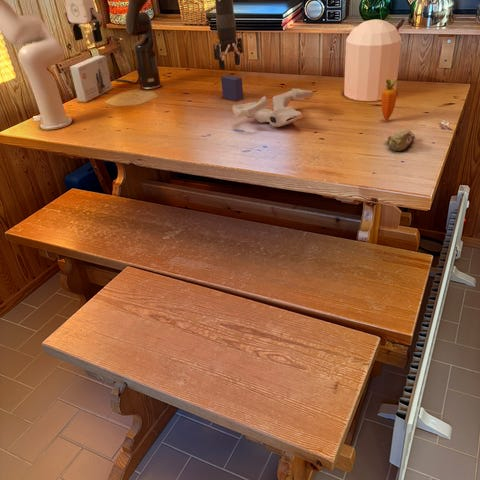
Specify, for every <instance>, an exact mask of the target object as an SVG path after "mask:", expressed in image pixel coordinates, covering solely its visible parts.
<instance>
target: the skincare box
mask: <svg viewBox="0 0 480 480" xmlns="http://www.w3.org/2000/svg"><path fill="white" fill-rule="evenodd" d="M69 70H70V74H71V78H72V82H73V86H74V90H75V94H76V98H77V102H81V103H82V102H84V103H87V102H89V101H91V100H93V99H95V98H97V97H100V96H101V95H103V94H105V93H107V92H108V91H110V90H112V89H113V86H112V81H111V78H110V76H111V75H110V72H109V71H110V70H109V66H108V62H107V57H106V55H100V54H99V55H95V56H92V57H90V58H87V59H85V60H83V61H80V62H78V63H75V64H73V65H71V66H69Z"/></svg>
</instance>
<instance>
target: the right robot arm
mask: <svg viewBox="0 0 480 480" xmlns="http://www.w3.org/2000/svg"><path fill="white" fill-rule="evenodd" d="M148 1H149V0H128V4H127V9H126V13H125V20H124V21H125V29H126V32H127V34H128V35H129V36H131V37H137V36H141V38H140V40H138V41H137V42H135V44H134V45H133V50H134V54H135V59H136V64H137V67H136V71H137V72H136V73H137V80H136V81H131V80H127V79H118V78H115V77H114V76H112V75H109V76H110V79H112V80H113V81H118V82H125V83H130V84H132V85H136V84H139V87H140V89H142V90H145V91H151V90H152V91H153V90H157V89H159V88H161V87H162V83H161V78H160V73H159V72H160V71H159V67H158V66H159V65H158V62H157V61H158V60H157V55H156V50H155V40H154V32H153V24H152V20H151V16H150V15H149V13H148V12H147V11H142V9H143V8H144V7H145V5H146V4H147V3H148ZM214 6H215V17H216V18H215V20H216V21H215V22H216V32H217V39H218V41H219V43H213V59H214V60H216V61H218V67H219V69H220V70H221V71H224V70H226V67H225V57H226V56H228V55H227V54H229V53H233V57H234V59H233V60H234V65H235V66H239V65H240V64H241V54H243V53H244V47H243V38H242V37H237V26H236V17H235V11H234V9H235V8H234V0H214Z"/></svg>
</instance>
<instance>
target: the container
mask: <svg viewBox="0 0 480 480" xmlns="http://www.w3.org/2000/svg"><path fill="white" fill-rule="evenodd" d="M401 50H402V37H401V35H400V32H399V31H398V29H397V27H396V26H394V25H393V24H392V23H390V22H388V21H386V20H383V19H378V18H377V19H376V18H375V19H369V20H364V21H363V22H361V23H359V24H358V25H356V26H355V27H354V28H352V30H351V31H350V33H349V34H348V36H347V37H346V39H345V55H344V59H345V60H344V81H343V83H344V85H343V94H344V96H345V97H346V98H347V99H351V100H354V101H363V102H377V101H381V98H382V91H383V90H384V89H386V88H387V87H386V85H387V83H386V79H390V82H391V84H393V82H394V80H395V79H397V81H396V83H395V84H394V86H393V88H394V89H395V90H396V91H397V87H398V86H397V85H398V83H397V82H398V76H399V67H400V59H401V58H400V57H401ZM389 86H390V85H389ZM391 86H392V85H391Z"/></svg>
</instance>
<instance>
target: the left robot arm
mask: <svg viewBox="0 0 480 480" xmlns="http://www.w3.org/2000/svg"><path fill="white" fill-rule="evenodd" d="M64 5H65V11H66V12H65V13H64V17H65V18H66V20H67V23H68V24H69V25H70V29H72V33H73V37H74V41H76V42H78V41H81V40H83V39H84V35H83V31H82V27H81V26H80V25H88V24H89V26H90V27H91V28H92V31H91V33H92V36H93V41H94V43H100V42H103V36H102V30H101V29H102V25H103V15H102V14H101V13H100V12H98V11H97V9H96V5H95V1H94V0H64ZM0 32H1V34H2V35H3V37H5V38H6V40H7V41H8V42H9V43H10V44H12V45H13V46H22V47H21V48H20V49H19V51H18V54H17V57H18V61H19V63H20V65H21V67H22V69H23V71H24V72H25V74H26V76H27V79H28V82H29V85H30V88H31V91H32V93H33V96H34V98H35V102H36V105H37V108H38V111H39V114H40V115H33V116H32V119H33V122H34V123H38V122H40V124H39V126H40V128H41V129H42V130H45V131H51V130H59V129H63V128H65V127H67V126H69V125H71V123H72V122H73V120H72V118H71V117H70V116H67V114H66V110H65V107H64V103H63V100H62V97H61V94H60V90H59V87H58V83H57V81H56V78H55V77H54V76H53V74H52V73H51V72H50V71H49V70H48V69H47V68H51V67H53V66H56V65H58V64H60V63H61V62H63V60H64V57H65V55H64V54H65V53H64V49H63V47H62V46H61V44H60V43H59V41H58V39H57V38H56V36H54V34H53V33H52V31H51V30H50V29H49V27H48V26H47V25H46V23H45V22H44V21H43V20H42V19H41V18H40V16H38V15H36V14H33V13H26V14H23V15H19V14H17V13H16V11H15V10H14V9H13V7H12V5H10V3H8V2H7V1H6V0H0ZM23 45H24V46H23Z"/></svg>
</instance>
